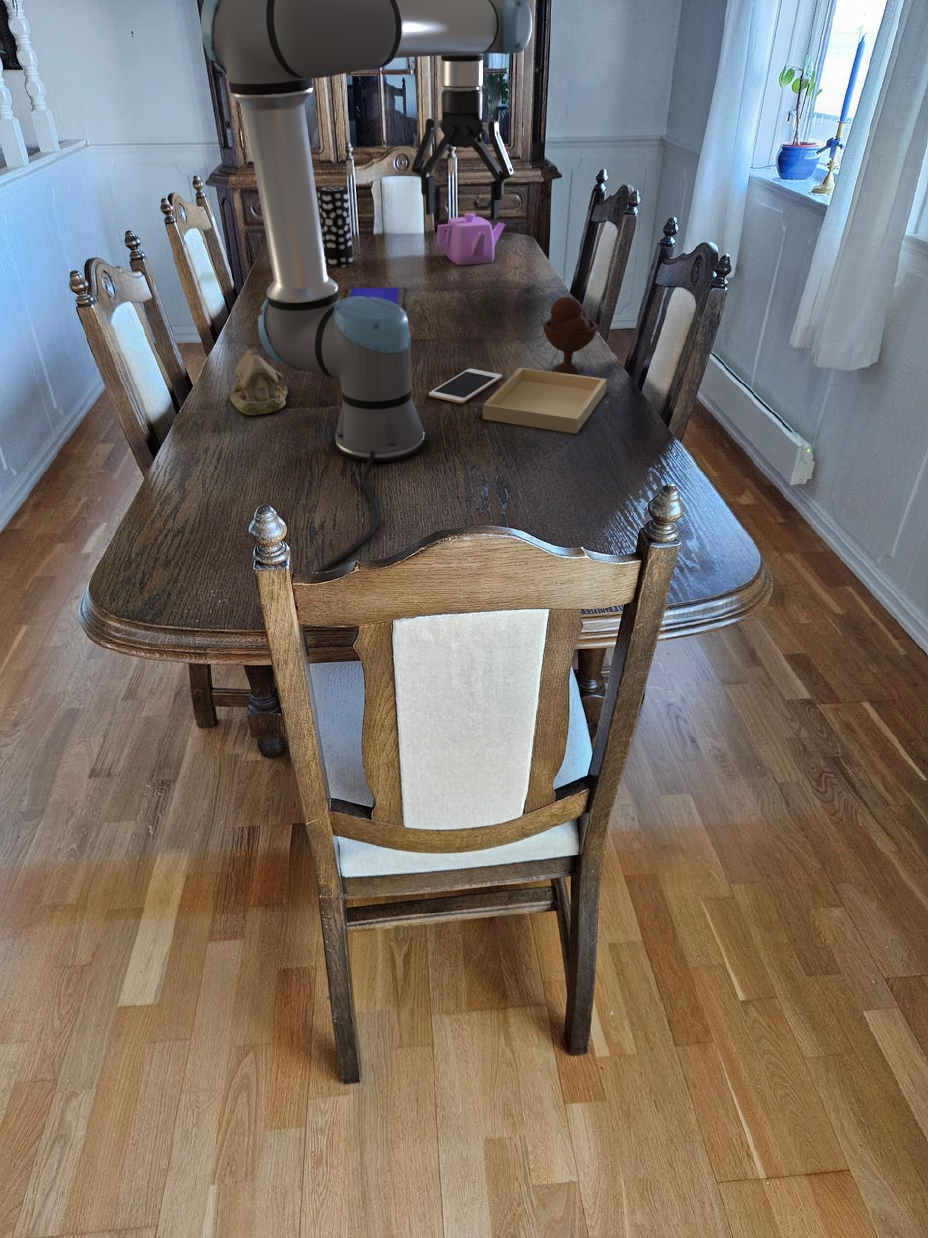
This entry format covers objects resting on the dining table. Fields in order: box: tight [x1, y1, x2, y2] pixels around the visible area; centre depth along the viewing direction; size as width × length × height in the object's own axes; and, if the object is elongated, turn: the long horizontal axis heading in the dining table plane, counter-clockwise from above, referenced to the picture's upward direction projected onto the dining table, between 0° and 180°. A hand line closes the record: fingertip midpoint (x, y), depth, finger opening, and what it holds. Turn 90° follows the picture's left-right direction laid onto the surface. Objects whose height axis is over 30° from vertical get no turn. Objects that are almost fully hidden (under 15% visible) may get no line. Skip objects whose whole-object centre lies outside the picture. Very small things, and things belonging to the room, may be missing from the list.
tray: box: [482, 366, 608, 435], centre depth 156 cm, size 21×18×3 cm
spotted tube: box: [317, 185, 354, 269], centre depth 237 cm, size 8×8×20 cm
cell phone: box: [428, 368, 503, 404], centre depth 164 cm, size 8×16×1 cm, turn 149°
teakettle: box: [436, 212, 506, 266], centre depth 244 cm, size 17×17×12 cm
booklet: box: [345, 287, 405, 309], centre depth 209 cm, size 12×25×1 cm, turn 1°
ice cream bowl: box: [542, 296, 599, 375], centre depth 167 cm, size 11×11×15 cm
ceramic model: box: [229, 347, 288, 416], centre depth 156 cm, size 14×11×10 cm
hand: (462, 215), depth 164 cm, fingers open, 13 cm apart
